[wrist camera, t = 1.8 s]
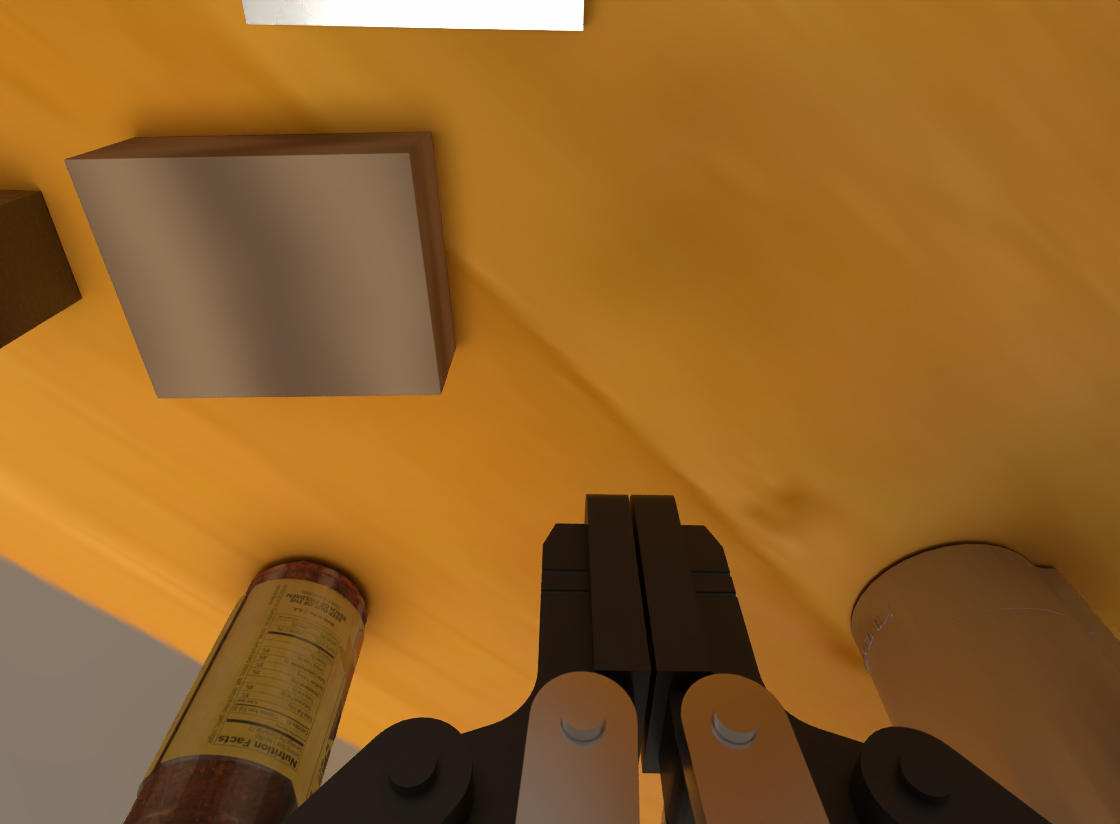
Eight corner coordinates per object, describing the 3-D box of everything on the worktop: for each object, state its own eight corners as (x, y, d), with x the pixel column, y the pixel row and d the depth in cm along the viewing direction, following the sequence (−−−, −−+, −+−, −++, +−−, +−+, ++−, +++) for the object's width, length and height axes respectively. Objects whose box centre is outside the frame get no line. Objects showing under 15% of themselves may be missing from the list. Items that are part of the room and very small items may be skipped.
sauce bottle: (313, 653, 36) (89, 1229, 19) (222, 585, 33) (-130, 1185, 16) (403, 606, 34) (243, 1202, 17) (315, 530, 31) (21, 1148, 14)
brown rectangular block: (432, 130, 22) (408, 153, 19) (456, 344, 27) (440, 394, 23) (139, 135, 23) (63, 159, 19) (209, 348, 27) (157, 398, 23)
